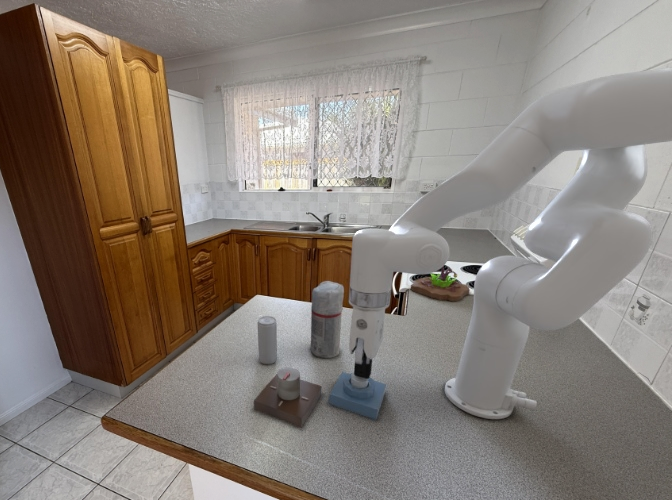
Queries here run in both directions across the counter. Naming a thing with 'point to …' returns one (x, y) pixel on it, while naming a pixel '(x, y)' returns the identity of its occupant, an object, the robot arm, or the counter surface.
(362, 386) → the white button cap
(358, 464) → the counter surface
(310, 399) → the base
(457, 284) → the plant
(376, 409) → the button base
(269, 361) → the beverage can
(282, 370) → the lock knob
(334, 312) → the spray can
